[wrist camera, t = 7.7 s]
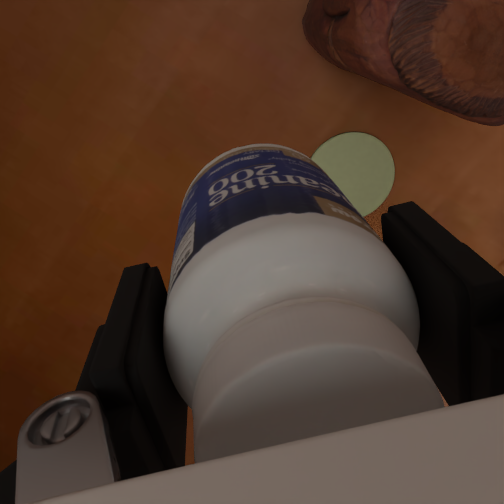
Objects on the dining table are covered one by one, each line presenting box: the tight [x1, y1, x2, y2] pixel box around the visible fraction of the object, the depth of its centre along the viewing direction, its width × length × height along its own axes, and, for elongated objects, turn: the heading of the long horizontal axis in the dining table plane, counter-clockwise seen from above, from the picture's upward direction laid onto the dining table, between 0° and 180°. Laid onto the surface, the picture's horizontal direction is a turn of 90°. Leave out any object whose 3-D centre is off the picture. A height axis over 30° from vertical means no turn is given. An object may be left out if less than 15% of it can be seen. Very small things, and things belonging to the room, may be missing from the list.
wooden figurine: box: [302, 0, 504, 126], centre depth 29 cm, size 12×6×18 cm, turn 68°
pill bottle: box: [163, 144, 444, 463], centre depth 12 cm, size 5×5×10 cm
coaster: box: [311, 132, 395, 217], centre depth 41 cm, size 8×8×1 cm
